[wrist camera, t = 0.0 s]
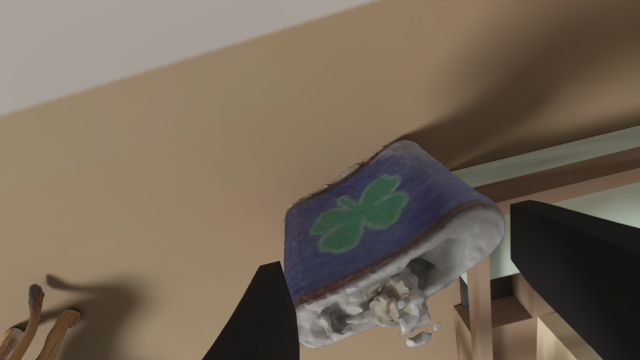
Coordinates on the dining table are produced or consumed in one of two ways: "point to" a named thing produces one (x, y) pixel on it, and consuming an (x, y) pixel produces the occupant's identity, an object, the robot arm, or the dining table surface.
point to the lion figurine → (21, 340)
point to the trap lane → (497, 268)
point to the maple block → (560, 341)
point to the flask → (383, 244)
